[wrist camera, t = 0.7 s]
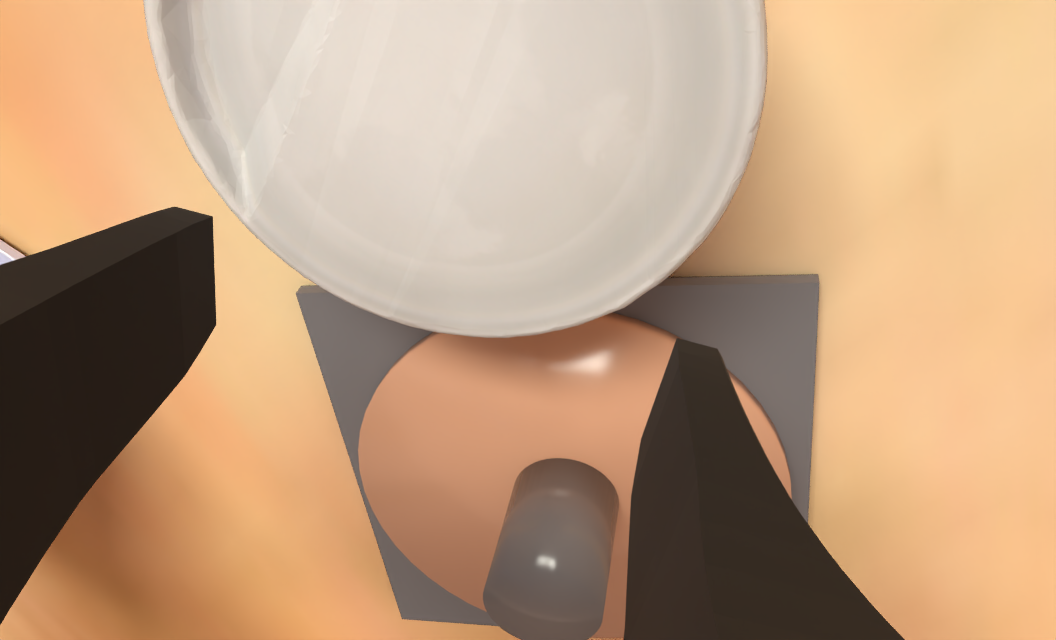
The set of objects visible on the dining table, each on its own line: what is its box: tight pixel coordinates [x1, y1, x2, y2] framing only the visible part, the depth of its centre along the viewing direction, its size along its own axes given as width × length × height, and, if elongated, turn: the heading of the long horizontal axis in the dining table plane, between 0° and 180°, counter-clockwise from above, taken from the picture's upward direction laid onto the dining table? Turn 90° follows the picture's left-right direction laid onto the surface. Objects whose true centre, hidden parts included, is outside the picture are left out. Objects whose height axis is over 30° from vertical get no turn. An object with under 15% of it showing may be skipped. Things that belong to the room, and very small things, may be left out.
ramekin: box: [143, 0, 768, 338], centre depth 17 cm, size 11×11×5 cm
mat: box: [296, 274, 819, 626], centre depth 27 cm, size 14×14×1 cm
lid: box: [358, 313, 792, 640], centre depth 25 cm, size 13×13×5 cm
